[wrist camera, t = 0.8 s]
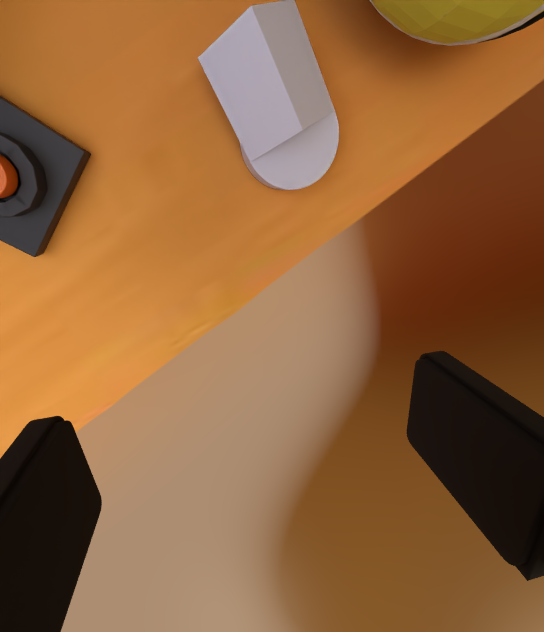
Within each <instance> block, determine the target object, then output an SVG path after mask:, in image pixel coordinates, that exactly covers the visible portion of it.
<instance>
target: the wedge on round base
mask: <svg viewBox="0 0 544 632" xmlns="http://www.w3.org/2000/svg"><path fill="white" fill-rule="evenodd" d="M198 60H199V62H200V64H201V66H202V68H203V70H204V72H205V74H206V76H207V78H208V79H209V81H210V83H211V85H212V87H213V89H214V91H215V93H216V95H217V97H218V99H219V101H220V103H221V105H222V107H223V109H224V111H225V113H226V115H227V117H228V119H229V121H230V123H231V125H232V127H233V129H234V131H235V133H236V135H237V137H238V139H239V141H240V147H241V153H242V156H243V159H244V161H245V164H246V166H247V167H248V169H249V171H250V172H251V173H252V175H253V176H254V177H255V178H256V179H257V180H258V181H260V182H261V183H263V184H264V185H266V186H268V187H271V188H274V189H278V190H294V189H301V188H304V187H307V186H309V185H311V184H313V183H315V182H316V181H317V180H319V179H320V178H321V177H322V176H323V175H324V174H325V173H326V171H327V170H328V169H329V167H330V165H331V164H332V162H333V159H334V157H335V155H336V151H337V147H338V141H339V125H338V120H337V116H336V112H335V109H334V107H333V104H332V101H331V99H330V96H329V93H328V90H327V88H326V85H325V82H324V79H323V77H322V74H321V71H320V68H319V66H318V63H317V60H316V57H315V55H314V52H313V49H312V47H311V44H310V41H309V38H308V36H307V33H306V30H305V27H304V25H303V22H302V19H301V16H300V14H299V11H298V8H297V5H296V3H295V0H284V1H278V2H271V3H265V4H258V5H252V6H250V7H249V8H248V9H247V10H246V11H245V12H244V13H243V14H242V15H241V16H240V17H239V18H238V19H237V20H236V21H235V22H234V23H233V24H232V25H231V26H230V27H229V28H228V29H227V30H226V31H225V32H224V33H223V34H222V35H221V36H220V37H219V38H218V39H217V40H216V41H215V42H214V43H212V44H211V45H210V46H209V47H208V48H207V49H206V50H205V51H204V52H203V53H202V54H201V55H200V56H199V57H198Z"/></svg>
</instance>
